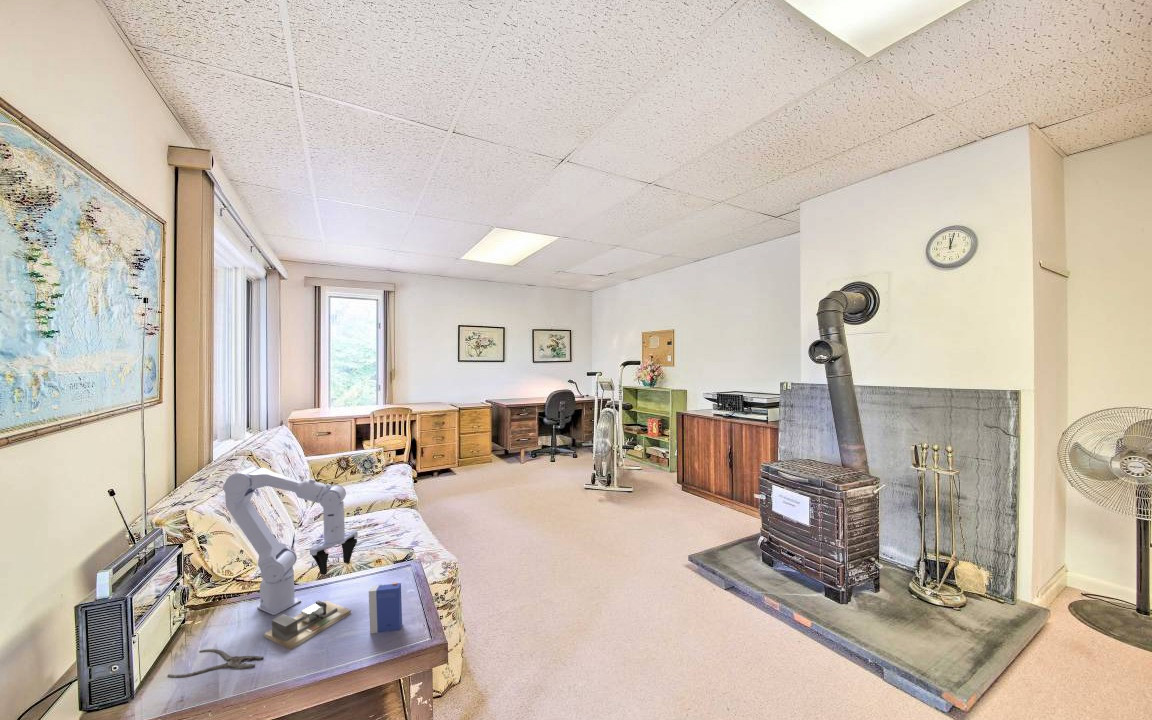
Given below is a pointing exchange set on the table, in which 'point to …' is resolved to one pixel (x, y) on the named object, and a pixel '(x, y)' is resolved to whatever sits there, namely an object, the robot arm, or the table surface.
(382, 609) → the walkman
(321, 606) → the block with upright rod
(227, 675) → the table surface
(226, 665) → the pliers
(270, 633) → the bench
